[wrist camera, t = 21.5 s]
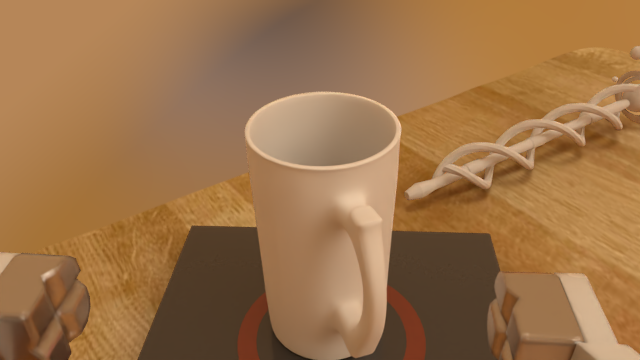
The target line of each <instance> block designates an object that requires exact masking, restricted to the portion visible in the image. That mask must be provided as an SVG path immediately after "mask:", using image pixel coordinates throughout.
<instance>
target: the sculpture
mask: <svg viewBox="0 0 640 360" xmlns="http://www.w3.org/2000/svg"><path fill="white" fill-rule="evenodd" d="M630 55H631V57H632V58H633V59H636V60H638V59H640V46H636V47H634V48H633V49H632V50H631V52H630ZM631 76H634V77H631ZM628 77H631V78H629V79H628V80H626V81H625V82H624V83H623V84H622V82H623V81H624V80H625V79H627V78H628ZM617 80H618V78H617V77H616V76H615V77H613V78H612V81H614V82H616V81H617ZM635 80H640V71H630V72H627V73H625V74H624V75H622V76H621V77H620V78H619V80H618V81H617V83H616V85H613V86H610V87H607V88H605V89H603V90H601V91H600V92H598V93H597V94H595V95H594V96H593V97H592V98H591V99H590V100H589V101H588V102H587V104H586V103H572V104H566V105H563V106H560V107H557V108H556V109H554V110H552V111H550V112H549V113H548V114H547V115H545V116H544V117H543V118H542V119H534V120H527V121H523V122H520V123H518V124H516V125H514V126H512V127H511V128H509V129H508V130H506V131H505V132H504V133H503V134H502V135H501V136H500V137H499V139H498V140H497V141H496V143H495V144H494V143H487V142H479V143H470V144H466V145H463V146H461V147H458V148H457V149H455V150H454V151H452V152H451V153H450V154H449V155H448V156H446V157H445V158H444V159H443V160H442V162H441V163H440V164H439V166H438V167H437V169H436V171H435V173H434V175H433V177H432V179H431V180H427V181H423V182H419V183H415V184H414V185H413V186H411V187H410V188H409V189H408V190H407V191H405V192H404V196H405V198H406V199H407V200H413V199H422V198H423V197H425V196H426V195H428V194H430V193H431V192H433V191H434V190H436V189H438V188H441V187H443V186H445V185H448V184H450V183H452V182H455V181H457V180H459V179H462V178H464V179H466V180H468V181H470V182H471V183H473V184H475V185H477V186H479V187H480V188H482V189H488V188H489V187H490V186H491V182H492V177H493V170H494V165H495V164H497V163H499V162H501V161H504V160H506V159H508V158H511V159H512V160H514V161H515V162H517V163H518V164H520V165H521V166H523V167H524V168H526V169H527V170H531V169H532V168H533V167H534V153H535V148H536V147H539V146H541V145H543V144H544V143H546V142H548V141H550V140H553V139H555V138H557V137H560V136H562V135H564V134H565V135H567V136H568V137H570V138H571V139H572V140H574V141H575V142H576V143H577V144H578V145H579V146H584V145H585V144H586V143H585V137H584V128H585V125H588V124H592V123H594V122H596V121H599V120H601V119H603V118H605V119H607V120H608V121H610V122H611V123H612V125H613V126H614V128H615V129H616V130H621V129H622V127H623V126H622V123H621V122H620V118H619V115H620V111H622V113H623V114H624V115H625V116H626V117H627V118H629V119H630V120H632V121H634V122H637V123H640V115H634V114H631V113H630V112H628V111H627V110H626V109H625V108H627V109H628V110H630V111H633V112H640V84H629V83H630V82H632V81H635ZM622 92H624V93H623V96H622ZM614 94H615V99H616V102H614V103H611V104H609V105H607V106H604V107H600V106H596V104H598V103H599V102H600V101H602V100H603V99H605V98H607V97H609V96H611V95H614ZM572 112H581V113H580V115H579V118H577V119H574V120H572V121H570V122H567V123H565V124H562V123H559V122H556V121H553V120H555V119H556V118H558V117H560V116H562V115H565V114H568V113H572ZM530 129H534V130H533V132H532V134H531V136H530V137H529V138H527V139H526V140H524V141H522V142H520V143H517V144H515V145H512V146H510V147H508V148H507V147H505V146H504V145H505V144H506V143H507V141H508V140H510V139H511V138H512V137H513V136H515V135H517V134H519V133H521V132H523V131H526V130H530ZM544 129H551V130H548V131H546V132H543V130H544ZM574 130H576V131H574ZM542 132H543V133H542ZM481 151H484V152H490V154H489V155H488V156H486V157H484V158H481V159H476V160H474V161H471V162H469V163H467V164H464V165H463V166H462V167H459V166H457V165H454V164H452V163H453V162H454V161H456V160H457V159H459V158H461V157H463V156H465V155H467V154H470V153H474V152H481ZM525 151H527V155H526V158H524V157H523V156H521V155H520V153H522V152H525ZM485 168H486V170H485V175H484V180H483V179H481V178H480V177H478V176H476V175H475V174H476V173H478V172H481V171H483V170H484V169H485ZM445 172H447V173H446V174H444V173H445Z"/></svg>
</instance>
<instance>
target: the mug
mask: <svg viewBox="0 0 640 360" xmlns="http://www.w3.org/2000/svg"><path fill="white" fill-rule="evenodd" d="M400 136H401V125H400V122H399V120H398V118H397V117H396V116H395V114H394V113H393V112H392V111H391V110H389V109H388V108H387V107H385V106H383V105H382V104H380V103H378V102H376V101H374V100H371V99H368V98H365V97H362V96H358V95H353V94H346V93H337V92H310V93H303V94H296V95H291V96H288V97H284V98H281V99H278V100H276V101H273V102H271V103H269V104H267V105H265V106H263V107H262V108H260V109H259V110H258V111H256V112H255V113H254V114H253V115H252V116H251V117H250V119H249V120H248V122H247V124H246V127H245V139H246V149H247V159H248V167H249V175H250V182H251V189H252V196H253V203H254V210H255V217H256V224H257V231H258V238H259V245H260V253H261V260H262V267H263V275H264V282H265V290H266V297H267V303H268V309H269V315H270V321H271V325H272V328H273V331H274V333H275V335H276V337H277V338H278V339H279V341H280V342H281V343H282V344H283V345H284V346H285V347H286V348H288V349H289V350H290V351H292V352H294V353H296V354H298V355H300V356H302V357H305V358H309V359H313V360H340V359H344V358H347V357H350V356H352V357H354V358H358V357H362V356H366V355H369V354H372V353H373V352H374V351H375V349H376V347H377V345H378V343H379V340H380V338H381V336H382V333H383V330H384V325H385V319H386V308H387V279H388V268H389V257H390V247H391V237H392V227H393V216H394V206H395V196H396V186H397V176H398V163H399V144H400Z"/></svg>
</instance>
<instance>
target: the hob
mask: <svg viewBox="0 0 640 360" xmlns="http://www.w3.org/2000/svg"><path fill="white" fill-rule="evenodd" d="M499 271H500V268H499V264H498V261H497V257H496V254H495V250H494V247H493V243H492V240H491V236H490V234H488V233H451V232H414V231H392V237H391V247H390V257H389V268H388V279H387V308H386V319H385V325H384V330H383V333H382V336H381V338H380V340H379V343H378V345H377V347H376V349H375V351H374V352H373V353H372V354H369V355H366V356H362V357H358V358H354V357H352V356H350V357H347V358H344V359H340V360H498V359H497V358H496V357H495V356H494V355H493V354H492V353H491V352H490V347H489V342H488V335H487V315H488V310H489V305H490V303H491V302H492V301H493V300H494V299H496V298H497V297H496V293H495V289H494V284H495V280H496V276H497V275H498V273H499ZM138 360H313V359H309V358H305V357H302V356H300V355H298V354H296V353H294V352H292V351H290V350H289V349H288V348H286V347H285V346H284V345H283V344H282V343H281V342H280V341H279V339H278V338H277V337H276V335H275V333H274V331H273V328H272V325H271V321H270V315H269V309H268V303H267V297H266V290H265V282H264V275H263V267H262V260H261V253H260V245H259V238H258V231H257V227H227V226H191V229H190V231H189V234H188V236H187V239H186V241H185V244H184V246H183V249H182V251H181V254H180V256H179V259H178V261H177V263H176V266H175V268H174V271H173V273H172V276H171V278H170V281H169V283H168V286H167V288H166V291H165V293H164V296H163V298H162V301H161V303H160V305H159V308H158V310H157V313H156V315H155V318H154V320H153V323H152V325H151V328H150V330H149V333H148V335H147V338H146V340H145V343H144V345H143V347H142V350H141V352H140V355H139V357H138Z"/></svg>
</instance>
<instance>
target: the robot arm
mask: <svg viewBox="0 0 640 360" xmlns="http://www.w3.org/2000/svg"><path fill="white" fill-rule="evenodd" d="M80 271H81V270H80V268H79V265H78V263H77V260H76V258H74V257H71V256H62V255H46V254H30V253H21V254H19V253H5V252H0V360H68V358H69V357H70V355H71V349H70V346H69V342H71V341H72V340H73V339H75V338H76V337H78V336H79V335H80V334H82V332H83V330H84V328H85V326H86V324H87V321H88V317H89V312H90V296H89V293H88V290H87V287H86V286H85V285H84V284H82V283H81V282H80V281H79V280H78V279H76V278H77V276H78V274H79V273H80ZM494 289H495V293H496V297H497V298H496V299H494V300H493V301H492V302H491V303H490V305H489V310H488V315H487V335H488V342H489V347H490V352H491V353H492V354H493V355H494V356H495V357H496V358H497V359H498V360H640V354H639V353H637V352H636V351H635V350H634V349H632V348H631V347H630V346H628V345H622V344H618V341H617V339H616V337H615V335H614V333H613V331H612V329H611V327H610V325H609V322H608V320H607V318H606V316H605V314H604V312H603V310H602V308H601V306H600V303H599V301H598V299H597V297H596V295H595V293H594V291H593V289H592V287H591V284H590V282H589V280H588V278H587V277H586V276H585V275H584V274H583V273H554V274H553V273H537V272H502V271H499V273H498V275H497V276H496V280H495V284H494Z"/></svg>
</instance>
